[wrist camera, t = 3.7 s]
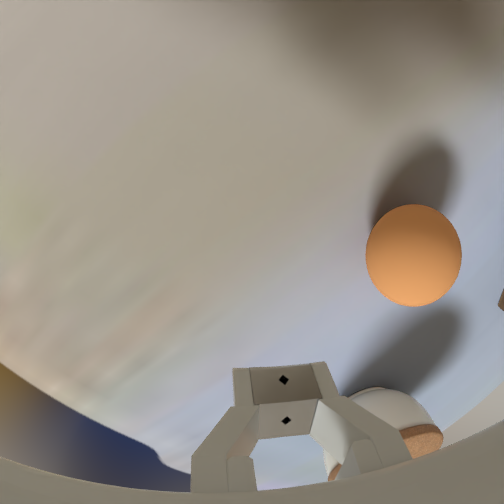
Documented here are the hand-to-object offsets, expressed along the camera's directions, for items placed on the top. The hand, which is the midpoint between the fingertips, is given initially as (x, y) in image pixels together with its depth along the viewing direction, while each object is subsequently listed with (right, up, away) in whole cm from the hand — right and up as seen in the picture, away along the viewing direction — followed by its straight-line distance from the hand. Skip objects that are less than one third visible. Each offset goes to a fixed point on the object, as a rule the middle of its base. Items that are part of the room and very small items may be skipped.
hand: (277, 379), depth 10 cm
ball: (+9, +4, +7) cm, 12 cm away
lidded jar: (+10, -11, +18) cm, 23 cm away
